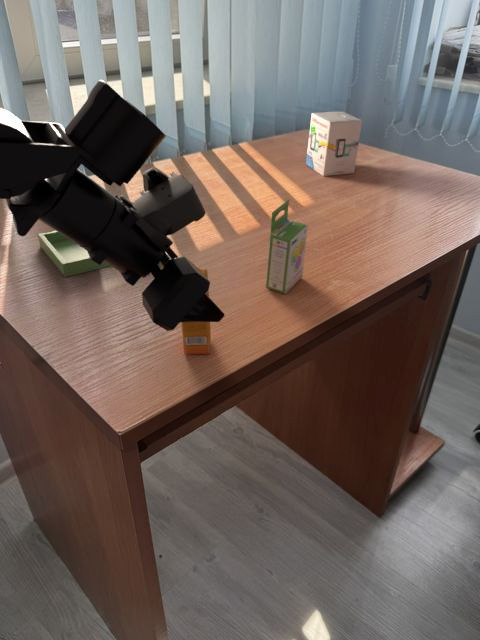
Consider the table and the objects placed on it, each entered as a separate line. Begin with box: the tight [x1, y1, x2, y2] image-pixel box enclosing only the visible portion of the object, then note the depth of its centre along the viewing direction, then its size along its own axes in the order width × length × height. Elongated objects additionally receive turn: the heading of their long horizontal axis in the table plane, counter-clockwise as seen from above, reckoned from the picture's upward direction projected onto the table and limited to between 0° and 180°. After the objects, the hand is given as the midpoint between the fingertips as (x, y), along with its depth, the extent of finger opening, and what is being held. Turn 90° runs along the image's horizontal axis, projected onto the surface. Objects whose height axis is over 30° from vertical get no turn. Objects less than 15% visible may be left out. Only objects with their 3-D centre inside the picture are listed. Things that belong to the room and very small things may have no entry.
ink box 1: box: [265, 199, 309, 295], centre depth 74 cm, size 6×4×12 cm, turn 153°
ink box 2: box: [305, 110, 363, 177], centre depth 118 cm, size 8×8×12 cm
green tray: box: [37, 230, 111, 278], centre depth 82 cm, size 15×11×2 cm
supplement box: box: [181, 268, 212, 355], centre depth 60 cm, size 3×3×10 cm
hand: (206, 297), depth 60 cm, fingers open, 9 cm apart
